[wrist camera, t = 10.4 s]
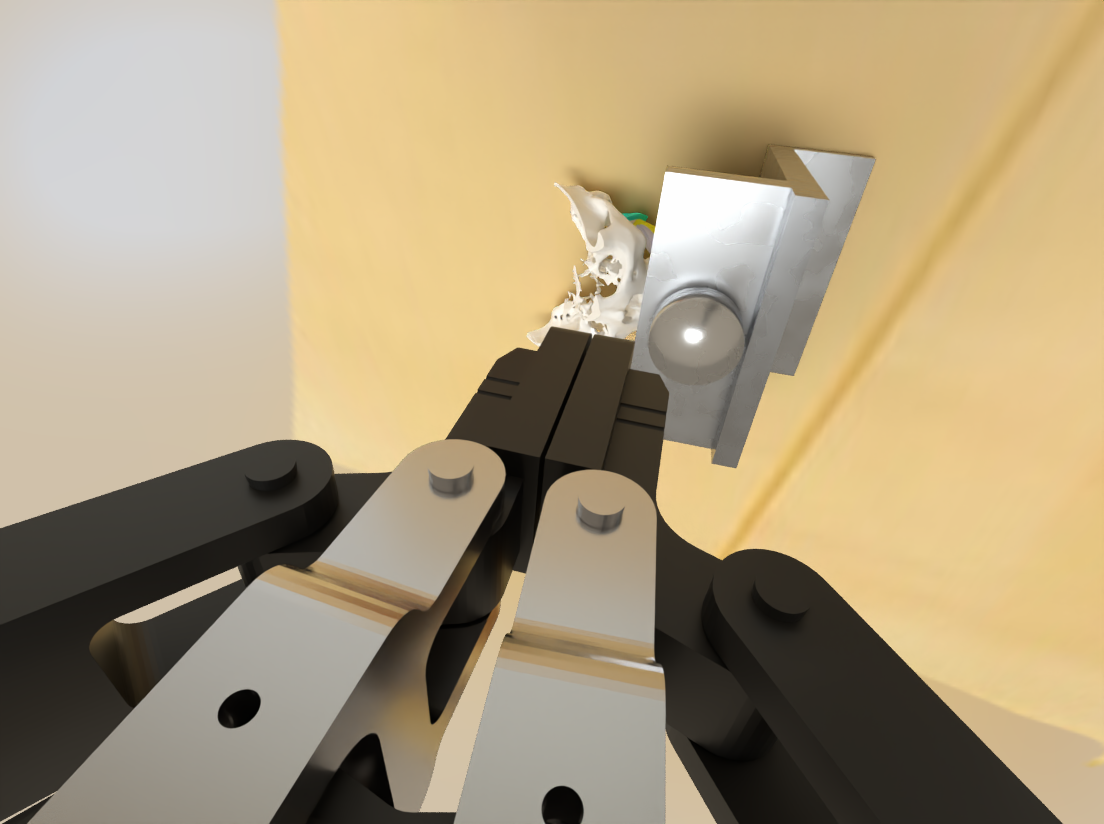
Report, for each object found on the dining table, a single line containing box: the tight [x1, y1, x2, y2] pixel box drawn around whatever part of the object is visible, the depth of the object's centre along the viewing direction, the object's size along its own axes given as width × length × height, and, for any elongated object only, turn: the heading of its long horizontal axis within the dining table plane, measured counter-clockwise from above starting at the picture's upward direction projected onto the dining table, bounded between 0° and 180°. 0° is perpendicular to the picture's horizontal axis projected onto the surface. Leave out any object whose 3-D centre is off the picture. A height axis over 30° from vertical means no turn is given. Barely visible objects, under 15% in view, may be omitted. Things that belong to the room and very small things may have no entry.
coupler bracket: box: [631, 144, 876, 468], centre depth 36 cm, size 16×12×14 cm
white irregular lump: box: [527, 182, 656, 347], centre depth 41 cm, size 12×9×10 cm
